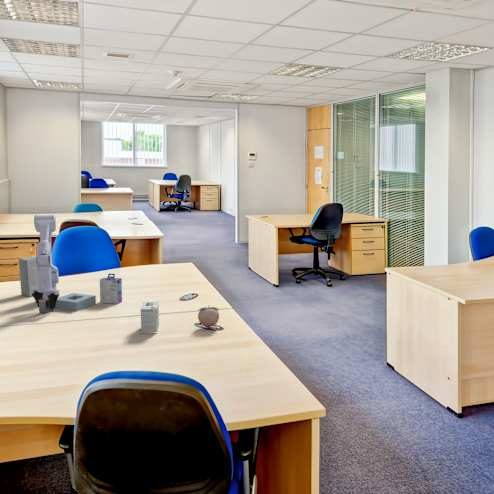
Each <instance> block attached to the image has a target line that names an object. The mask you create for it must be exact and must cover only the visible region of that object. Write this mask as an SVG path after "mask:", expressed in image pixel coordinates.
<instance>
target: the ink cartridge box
mask: <svg viewBox="0 0 494 494" xmlns="http://www.w3.org/2000/svg"><path fill="white" fill-rule="evenodd" d="M115 276H116V274H115V273H108V275H107V277H103V278H100V279H99V302H100V304H101V303H103V304H117V305H118V304H120V303H122V302H123V288H122V287H123V286H122V283H123V282H122V278H119V277H115Z"/></svg>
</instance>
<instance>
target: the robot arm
mask: <svg viewBox="0 0 494 494" xmlns="http://www.w3.org/2000/svg"><path fill="white" fill-rule="evenodd" d="M56 217H57V216H56V215H54V214H52V215H51V214H48V215H47V214H45V215H43V214H41V215H40V214H39V215H37V214H36V215H34V217H33V225H34V229H35V231H36V232H37V233H39V239H40V240H39V242H38V243H37V251H36V253H37V255H35V256H36V266H37V271H38V274H37V281H38V286H37V287H33V288H32V292H34V293H32V296H31V297H33V299H34V300H35V303H36V306H37V308H38V309H39V299H42V298H45V297H48V299H49V302H50V309H56V308H55V305H56V301H57V299H58V298H59V297H60V290H59V289H57V284H59V282H60V277H59V276H60V275H59V269H58V267H57V266H55V265H54V264H53V255H52V234H53V233H54V232H56V229H57V221H56V220H57V218H56ZM52 264H53V265H52ZM51 270H53V271H52V272H51Z"/></svg>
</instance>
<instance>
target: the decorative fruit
mask: <svg viewBox="0 0 494 494" xmlns="http://www.w3.org/2000/svg"><path fill="white" fill-rule="evenodd" d="M219 311H220V309H219V308H218V307H216V306H211V307H210V306H209V307H200V308H199V309H198V310H197V312H198V314H197V319H198V322H199V323H200V324H201V326H204V327H206V328H208V327H209V328H211V327H213V326H215V325H216V324H217V323H218V322H219V319H220V313H219ZM210 326H211V327H210Z"/></svg>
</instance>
